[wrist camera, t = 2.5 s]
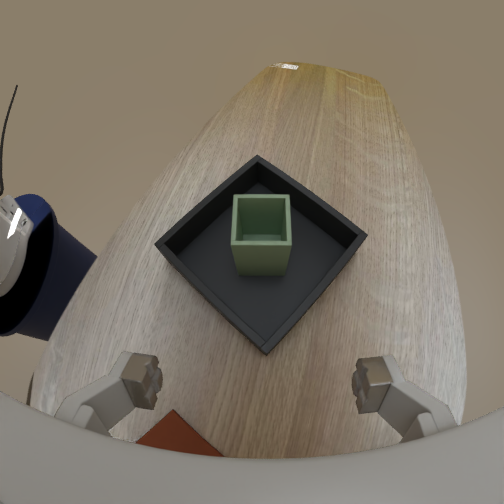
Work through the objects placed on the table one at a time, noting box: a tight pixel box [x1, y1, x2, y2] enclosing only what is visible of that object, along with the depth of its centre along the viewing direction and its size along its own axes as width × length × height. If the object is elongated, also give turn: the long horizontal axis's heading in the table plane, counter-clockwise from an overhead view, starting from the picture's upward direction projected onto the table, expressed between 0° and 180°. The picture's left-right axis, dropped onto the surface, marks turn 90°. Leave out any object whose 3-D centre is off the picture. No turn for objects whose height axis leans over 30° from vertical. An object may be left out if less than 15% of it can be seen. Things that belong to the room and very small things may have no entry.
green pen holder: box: [231, 194, 292, 276], centre depth 28 cm, size 5×5×8 cm
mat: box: [136, 410, 224, 457], centre depth 22 cm, size 12×12×1 cm
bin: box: [154, 155, 368, 356], centre depth 30 cm, size 16×16×5 cm
